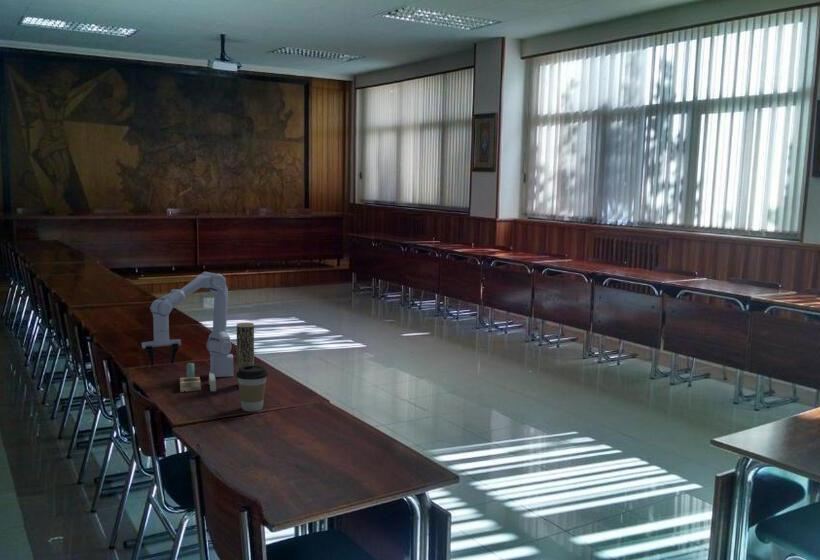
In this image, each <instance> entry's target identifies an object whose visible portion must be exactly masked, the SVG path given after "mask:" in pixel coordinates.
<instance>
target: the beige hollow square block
mask: <svg viewBox="0 0 820 560" xmlns="http://www.w3.org/2000/svg"><path fill="white" fill-rule="evenodd" d="M200 377H201V376H195V377H189V378H187V377H180V378H179V389H180V390H179V391H180V392H183V393H184V391H185V392H196V391H197V392H199V391H198V390H201V389H202V387H201V386H202V385H201V378H200Z"/></svg>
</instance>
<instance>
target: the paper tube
mask: <svg viewBox="0 0 820 560" xmlns="http://www.w3.org/2000/svg"><path fill="white" fill-rule="evenodd" d="M250 365H255V323H253V322H238V323H236V373H237V372H238V371H239V368H241V367H243V366H250ZM236 382H237V383H236V384H237V386H238V387H239V383H238V378H237V377H236Z"/></svg>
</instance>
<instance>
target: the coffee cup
mask: <svg viewBox="0 0 820 560" xmlns="http://www.w3.org/2000/svg"><path fill="white" fill-rule="evenodd" d="M235 376H236V379H237V378H238V383H239V386H238V388H239V389H238V390H239V396H240V404H241V408H242V410H243V411H244V412H249V413H250V412H251V413H252V412H259V411H261V410H262V409H263V407H264V401H265V400H264V399H265V392H266V384H267V377H268V376H269V373H268V370H266V367H264V366H262V365H255V364H254V365H250V366H243V367H241V368H239V371H238V372H237V371H236V375H235Z"/></svg>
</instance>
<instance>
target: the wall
mask: <svg viewBox="0 0 820 560" xmlns="http://www.w3.org/2000/svg"><path fill="white" fill-rule="evenodd" d="M208 385H210V386H209V390H210V392H217V380H216V377H215V376H214V373H212V374H209V373H208Z"/></svg>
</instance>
